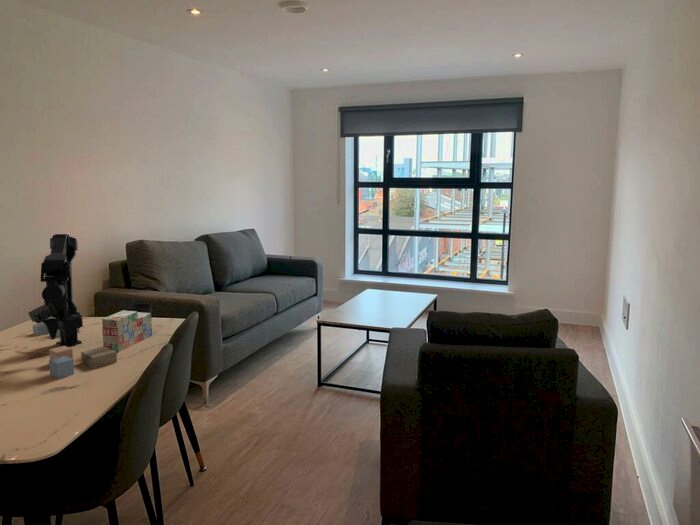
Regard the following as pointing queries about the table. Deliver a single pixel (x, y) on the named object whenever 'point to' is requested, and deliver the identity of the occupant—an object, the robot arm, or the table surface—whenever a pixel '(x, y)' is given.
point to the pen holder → (140, 307)
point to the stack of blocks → (125, 329)
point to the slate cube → (61, 367)
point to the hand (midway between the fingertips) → (60, 341)
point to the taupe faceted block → (99, 357)
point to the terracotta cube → (60, 352)
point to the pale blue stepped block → (44, 329)
